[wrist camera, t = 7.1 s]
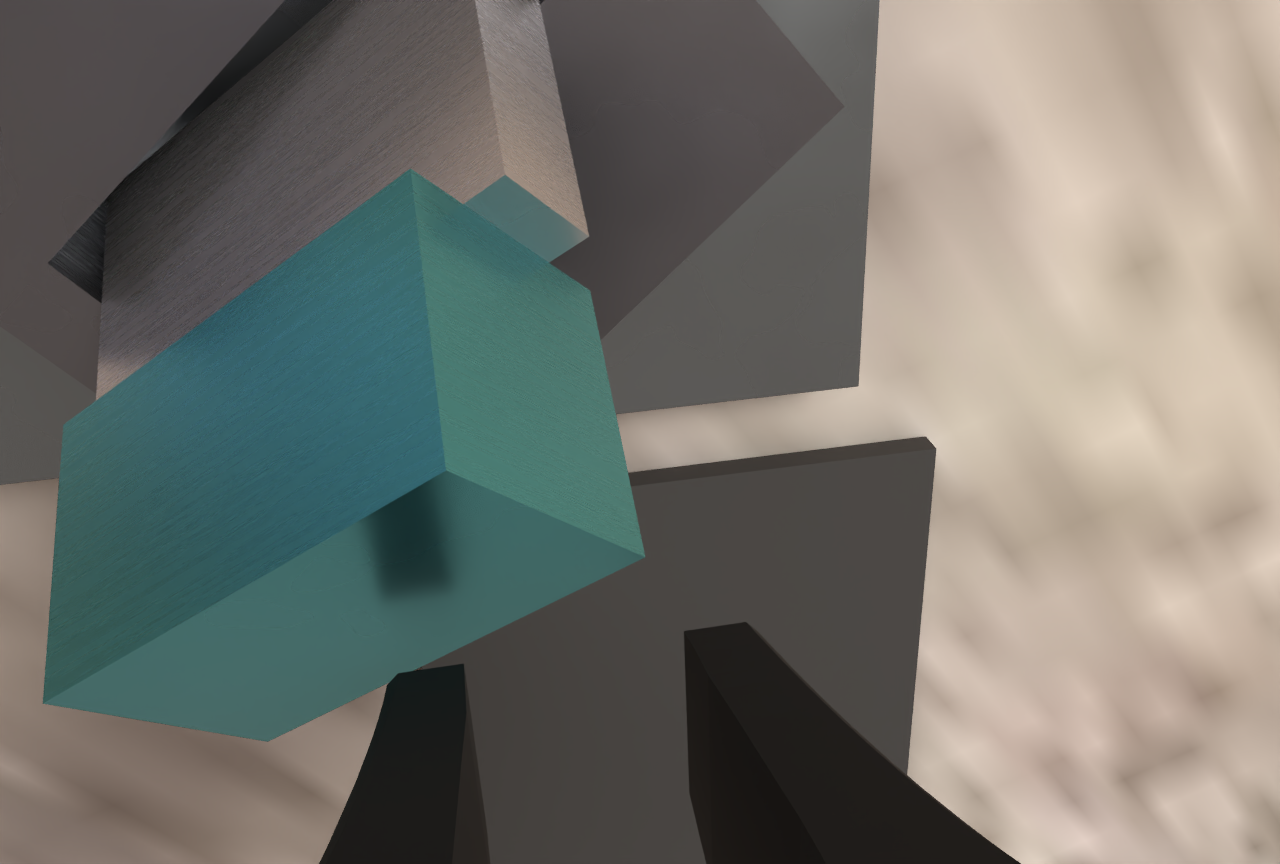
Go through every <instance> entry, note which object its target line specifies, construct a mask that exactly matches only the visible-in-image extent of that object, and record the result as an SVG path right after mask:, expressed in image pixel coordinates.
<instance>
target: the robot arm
mask: <svg viewBox="0 0 1280 864" xmlns="http://www.w3.org/2000/svg"><path fill="white" fill-rule="evenodd" d="M684 652H685V681H686V711H687V741H688V770H689V794H690V798H691V802H692V807H693V811H694V815H695V819H696V823H697V828H698V832H699V836H700V840H701V844H702V848H703V852H704V856H705V860H706V864H1021V863H1019V862H1018V861H1016V860H1015V859H1014V858H1012V857H1011V856H1009V855H1008V854H1006V853H1005V852H1004V851H1002V850H1001V849H999V848H998V847H997V846H995V845H994V844H993V843H991V842H990V841H989V840H987V839H986V838H985V837H983V836H982V835H981V834H979V833H978V832H977V831H975V830H974V829H973V828H971V827H970V826H969V825H967V824H966V823H965V822H964V821H962V820H961V819H960V818H959V817H957V816H956V815H955V814H954V813H952V812H951V811H950V810H949V809H947V808H946V807H945V806H944V805H942V804H941V803H940V802H939V801H937V800H936V799H935V798H934V797H932V796H931V795H930V794H929V793H927V792H926V791H925V790H924V789H923V788H921V787H920V786H919V785H918V784H917V783H915V782H914V781H913V780H912V779H911V778H910V777H908V776H907V775H906V774H905V773H904V772H903V771H901V770H900V769H899V768H898V767H897V766H896V765H894V764H893V763H892V762H891V761H890V760H889V759H888V758H887V757H886V756H884V755H883V754H882V753H881V752H880V751H879V750H878V749H877V748H876V747H874V746H873V745H872V744H871V743H870V742H869V741H868V740H867V739H866V738H865V737H863V736H862V735H861V734H860V733H859V732H858V731H857V730H856V729H855V728H853V727H852V726H851V725H850V724H849V723H848V722H847V721H846V720H845V719H844V718H843V717H842V716H841V715H840V714H839V713H838V712H836V711H835V710H834V709H833V708H832V707H831V706H830V705H829V704H828V703H827V702H826V701H825V700H824V699H823V698H822V697H821V696H820V695H819V694H818V693H817V692H816V691H815V690H814V689H813V688H812V687H811V686H810V685H809V684H808V683H807V682H806V681H805V680H804V679H803V678H802V677H801V676H800V675H799V674H798V673H797V672H796V671H795V670H794V669H793V668H792V667H791V666H790V665H789V664H788V663H787V662H786V661H785V660H784V659H783V657H782V656H781V655H780V654H779V653H778V652H777V651H776V650H775V649H774V648H773V647H772V646H771V645H770V644H769V643H768V642H767V641H766V640H765V638H764V637H763V636H762V635H761V634H760V633H759V632H758V631H757V630H756V629H754V628H753V627H752V626H751V625H749V624H748V623H747V622H742V623H735V624H728V625H721V626H715V627H708V628H701V629H694V630H687V631H684ZM319 864H490V854H489V845H488V835H487V826H486V819H485V811H484V804H483V797H482V790H481V783H480V775H479V768H478V761H477V754H476V747H475V739H474V732H473V725H472V718H471V711H470V703H469V696H468V689H467V682H466V675H465V668H464V664H457V665H450V666H443V667H437V668H430V669H423V670H416V671H410V672H403V673H398V674H397V675H396V676H395V677H394V678H393V679H392V680H391V681H390V683H389V684H388V685H387V688H386V693H385V697H384V702H383V705H382V709H381V712H380V716H379V719H378V722H377V725H376V729H375V732H374V735H373V737H372V740H371V743H370V746H369V749H368V751H367V754H366V757H365V759H364V762H363V765H362V767H361V770H360V772H359V775H358V778H357V780H356V783H355V785H354V787H353V790H352V792H351V794H350V796H349V799H348V801H347V803H346V806H345V808H344V810H343V812H342V815H341V817H340V819H339V822H338V824H337V826H336V829H335V831H334V833H333V835H332V838H331V840H330V842H329V844H328V846H327V849H326V851H325V853H324V855H323V857H322V859H321V861H320V863H319Z"/></svg>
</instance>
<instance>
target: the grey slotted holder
mask: <svg viewBox="0 0 1280 864" xmlns="http://www.w3.org/2000/svg"><path fill="white" fill-rule="evenodd" d="M284 1H285V0H0V327H2V328H3V329H4V330H6V331H7V332H9V333H10V334H12V335H13V336H14V337H16V338H17V339H19V340H20V341H22V342H23V343H24V344H26V345H27V346H29V347H30V348H32V349H33V350H34V351H36V352H37V353H39V354H40V355H42V356H43V357H44V358H46V359H47V360H49V361H50V362H52V363H53V364H54V365H56V366H57V367H59V368H60V369H62V370H63V371H64V372H66V373H67V374H69V375H70V376H72V377H73V378H74V379H76V380H77V381H79V382H80V383H82V384H83V385H84V386H86V387H87V388H89V389H90V390H92V391H93V392H94V393H96V391H97V373H98V356H99V339H100V321H101V304H102V287H103V269H104V252H105V235H106V217H107V200H108V198H107V197H108V196H109V195H110V193H111V192H112V191H113V190H114V189H115V188H116V187H117V186H118V185H119V184H120V182H121V181H122V180H123V179H124V178H125V177H126V176H127V175H128V174H129V172H130V171H131V170H132V169H133V168H134V167H135V166H136V165H137V164H138V162H139V161H140V160H141V159H142V158H143V157H144V156H145V155H146V154H147V152H148V151H149V150H150V149H151V148H152V147H153V146H154V145H155V144H156V142H157V141H158V140H159V139H160V138H161V137H162V136H163V135H164V134H165V133H166V131H167V130H168V129H169V128H170V127H171V126H172V125H173V124H174V123H175V121H176V120H177V119H178V118H179V117H180V116H181V115H182V114H183V113H184V111H185V110H186V109H187V108H188V107H189V106H190V105H191V104H192V103H193V101H194V100H195V99H196V98H197V97H198V96H199V95H200V94H201V93H202V92H203V90H204V89H205V88H206V87H207V86H208V85H209V84H210V83H211V82H212V80H213V79H214V78H215V77H216V76H217V75H218V74H219V73H220V72H221V70H222V69H223V68H224V67H225V66H226V65H227V64H228V63H229V62H230V60H231V59H232V58H233V57H234V56H235V55H236V54H237V53H238V52H239V51H240V49H241V48H242V47H243V46H244V45H245V44H246V43H247V42H248V41H249V39H250V38H251V37H252V36H253V35H254V34H255V33H256V32H257V31H258V29H259V28H260V27H261V26H262V25H263V24H264V23H265V22H266V21H267V19H268V18H269V17H270V16H271V15H272V14H273V13H274V12H275V11H276V9H277V8H278V7H279V6H280V5H281V4H282V3H283V2H284ZM539 3H540V8H541V12H542V17H543V22H544V26H545V31H546V36H547V41H548V45H549V50H550V55H551V59H552V64H553V69H554V73H555V78H556V83H557V87H558V92H559V97H560V102H561V106H562V111H563V116H564V120H565V125H566V130H567V134H568V139H569V144H570V149H571V153H572V158H573V163H574V167H575V172H576V177H577V181H578V186H579V191H580V196H581V200H582V205H583V210H584V214H585V219H586V224H587V228H588V233H589V237H588V238H586V239H585V240H583V241H582V242H580V243H578V244H577V245H575V246H574V247H572V248H571V249H569V250H568V251H566V252H565V253H563V254H561V255H560V256H558V257H557V258H555V259H554V260H552V261H551V262H549V263H550V264H552V265H553V266H555V267H556V268H558V269H559V270H561V271H562V272H564V273H565V274H567V275H568V276H569V277H571V278H572V279H574V280H575V281H577V282H578V283H580V284H581V285H583V286H584V287H586V288H587V289H589V290H590V292H591V297H592V302H593V307H594V312H595V316H596V321H597V326H598V331H599V336H600V340H601V339H602V338H603V337H605V336H606V335H607V334H608V333H609V332H610V331H611V330H612V329H613V328H614V327H615V326H616V325H617V324H618V323H619V322H620V321H621V320H622V319H623V318H624V317H625V316H626V315H627V314H629V313H630V312H631V311H632V310H633V309H634V308H635V307H636V306H637V305H638V304H639V303H640V302H641V301H642V300H643V299H644V298H645V297H646V296H647V295H648V294H649V293H650V292H652V291H653V290H654V289H655V288H656V287H657V286H658V285H659V284H660V283H661V282H662V281H663V280H664V279H665V278H666V277H667V276H668V275H669V274H670V273H671V272H672V271H673V270H675V269H676V268H677V267H678V266H679V265H680V264H681V263H682V262H683V261H684V260H685V259H686V258H687V257H688V256H689V255H690V254H691V253H692V252H693V251H694V250H695V249H696V248H698V247H699V246H700V245H701V244H702V243H703V242H704V241H705V240H706V239H707V238H708V237H709V236H710V235H711V234H712V233H713V232H714V231H715V230H716V229H717V228H718V227H719V226H721V225H722V224H723V223H724V222H725V221H726V220H727V219H728V218H729V217H730V216H731V215H732V214H733V213H734V212H735V211H736V210H737V209H738V208H739V207H740V206H741V205H742V204H743V203H745V202H746V201H747V200H748V199H749V198H750V197H751V196H752V195H753V194H754V193H755V192H756V191H757V190H758V189H759V188H760V187H761V186H762V185H763V184H764V183H765V182H766V181H768V180H769V179H770V178H771V177H772V176H773V175H774V174H775V173H776V172H777V171H778V170H779V169H780V168H781V167H782V166H783V165H784V164H785V163H786V162H787V161H788V160H789V159H791V158H792V157H793V156H794V155H795V154H796V153H797V152H798V151H799V150H800V149H801V148H802V147H803V146H804V145H805V144H806V143H807V142H808V141H809V140H810V139H811V138H812V137H814V136H815V135H816V134H817V133H818V132H819V131H820V130H821V129H822V128H823V127H824V126H825V125H826V124H827V123H828V122H829V121H830V120H831V119H832V118H833V117H834V116H835V115H836V114H838V113H839V112H840V111H841V110H842V109H843V108H844V107H845V106H844V105H843V104H842V103H841V102H840V100H839V99H838V98H837V97H836V96H835V94H834V93H833V92H832V91H831V90H830V88H829V87H828V86H827V85H826V84H825V82H824V81H823V80H822V79H821V78H820V76H819V75H818V74H817V73H816V72H815V70H814V69H813V68H812V67H811V66H810V64H809V63H808V62H807V61H806V60H805V58H804V57H803V56H802V55H801V54H800V52H799V51H798V50H797V49H796V48H795V46H794V45H793V44H792V43H791V42H790V40H789V39H788V38H787V37H786V35H785V34H784V33H783V32H782V31H781V29H780V28H779V27H778V26H777V25H776V23H775V22H774V21H773V20H772V19H771V17H770V16H769V15H768V14H767V13H766V11H765V10H764V9H763V8H762V7H761V5H760V4H759V3H758V2H757V1H756V0H539Z"/></svg>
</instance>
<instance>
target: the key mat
mask: <svg viewBox="0 0 1280 864" xmlns="http://www.w3.org/2000/svg"><path fill="white" fill-rule="evenodd" d="M935 457H936V448H935V447H934V445H933V444H932V443H931V442H930V441H929V440H928V439H927V437H919V438H911V439H903V440H895V441H886V442H878V443H870V444H862V445H854V446H845V447H837V448H829V449H821V450H813V451H805V452H796V453H788V454H780V455H772V456H764V457H756V458H747V459H739V460H731V461H723V462H715V463H706V464H698V465H690V466H682V467H674V468H666V469H657V470H649V471H641V472H633V473H628V476H629V480H630V485H631V490H632V495H633V500H634V505H635V509H636V514H637V519H638V524H639V529H640V534H641V538H642V543H643V548H644V553H645V558H643V559H641V560H639V561H637V562H635V563H633V564H630V565H628V566H626V567H624V568H622V569H620V570H618V571H616V572H614V573H612V574H610V575H608V576H606V577H604V578H602V579H600V580H598V581H596V582H594V583H592V584H590V585H588V586H585V587H583V588H581V589H579V590H577V591H575V592H573V593H571V594H569V595H567V596H565V597H563V598H561V599H559V600H557V601H555V602H553V603H551V604H549V605H547V606H545V607H542V608H540V609H538V610H536V611H534V612H532V613H530V614H528V615H526V616H524V617H522V618H520V619H518V620H516V621H514V622H512V623H510V624H508V625H506V626H504V627H502V628H499V629H497V630H495V631H493V632H491V633H489V634H487V635H485V636H483V637H481V638H479V639H477V640H475V641H473V642H471V643H469V644H467V645H465V646H463V647H461V648H459V649H457V650H454V651H452V652H450V653H448V654H446V655H444V656H442V657H440V658H438V659H436V660H434V661H432V662H430V663H428V664H426V665H424V666H422V670H423V669H430V668H437V667H443V666H450V665H457V664H464V668H465V675H466V682H467V689H468V696H469V703H470V711H471V718H472V725H473V732H474V739H475V747H476V754H477V761H478V768H479V775H480V783H481V790H482V797H483V804H484V811H485V819H486V826H487V835H488V845H489V854H490V864H706V860H705V856H704V852H703V848H702V844H701V840H700V836H699V832H698V828H697V823H696V819H695V815H694V811H693V807H692V802H691V798H690V794H689V770H688V741H687V711H686V681H685V652H684V631H687V630H694V629H701V628H708V627H715V626H721V625H728V624H735V623H742V622H747V623H748V624H749V625H751V626H752V627H753V628H754V629H756V630H757V631H758V632H759V633H760V634H761V635H762V636H763V637H764V638H765V640H766V641H767V642H768V643H769V644H770V645H771V646H772V647H773V648H774V649H775V650H776V651H777V652H778V653H779V654H780V655H781V656H782V657H783V659H784V660H785V661H786V662H787V663H788V664H789V665H790V666H791V667H792V668H793V669H794V670H795V671H796V672H797V673H798V674H799V675H800V676H801V677H802V678H803V679H804V680H805V681H806V682H807V683H808V684H809V685H810V686H811V687H812V688H813V689H814V690H815V691H816V692H817V693H818V694H819V695H820V696H821V697H822V698H823V699H824V700H825V701H826V702H827V703H828V704H829V705H830V706H831V707H832V708H833V709H834V710H835V711H836V712H838V713H839V714H840V715H841V716H842V717H843V718H844V719H845V720H846V721H847V722H848V723H849V724H850V725H851V726H852V727H853V728H855V729H856V730H857V731H858V732H859V733H860V734H861V735H862V736H863V737H865V738H866V739H867V740H868V741H869V742H870V743H871V744H872V745H873V746H874V747H876V748H877V749H878V750H879V751H880V752H881V753H882V754H883V755H884V756H886V757H887V758H888V759H889V760H890V761H891V762H892V763H893V764H894V765H896V766H897V767H898V768H899V769H900V770H901V771H903V772H904V773H905V774H906V775H907V769H908V758H909V747H910V736H911V725H912V714H913V702H914V691H915V680H916V669H917V658H918V647H919V635H920V624H921V613H922V602H923V591H924V580H925V569H926V557H927V546H928V535H929V524H930V513H931V502H932V491H933V479H934V468H935Z"/></svg>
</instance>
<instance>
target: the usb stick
mask: <svg viewBox="0 0 1280 864" xmlns="http://www.w3.org/2000/svg"><path fill="white" fill-rule="evenodd" d="M588 237H589V233H588V228H587V224H586V219H585V214H584V210H583V205H582V200H581V196H580V191H579V186H578V181H577V177H576V172H575V167H574V163H573V158H572V153H571V149H570V144H569V139H568V134H567V130H566V125H565V120H564V116H563V111H562V106H561V102H560V97H559V92H558V87H557V83H556V78H555V73H554V69H553V64H552V59H551V55H550V50H549V45H548V41H547V36H546V31H545V26H544V22H543V17H542V12H541V8H540V3H539V0H333V1H331V2H330V3H329V4H328V5H327V6H326V7H324V8H323V9H322V10H321V11H320V12H319V13H317V14H316V15H315V16H314V17H313V18H311V19H310V20H309V21H308V22H307V23H306V24H304V25H303V26H302V27H301V28H300V29H299V30H297V31H296V32H295V33H294V34H293V35H292V36H290V37H289V38H288V39H287V40H286V41H285V42H283V43H282V44H281V45H280V46H279V47H278V48H276V49H275V50H274V51H273V52H272V53H271V54H269V55H268V56H267V57H266V58H265V59H264V60H262V61H261V62H260V63H259V64H258V65H256V66H255V67H254V68H253V69H252V70H251V71H249V72H248V73H247V74H246V75H245V76H244V77H242V78H241V79H240V80H239V81H238V82H237V83H235V84H234V85H233V86H232V87H231V88H230V89H228V90H227V91H226V92H225V93H224V94H223V95H221V96H220V97H219V98H218V99H217V100H216V101H214V102H213V103H212V104H211V105H210V106H208V107H207V108H206V109H205V110H204V111H203V112H201V113H200V114H199V115H198V116H197V117H196V118H194V119H193V120H192V121H191V122H190V123H189V124H187V125H186V126H185V127H184V128H183V129H182V130H180V131H179V132H178V133H177V134H176V135H175V136H173V137H172V138H171V139H170V140H169V141H168V142H166V143H165V144H164V145H163V146H162V147H160V148H159V149H158V150H157V151H156V152H155V153H153V154H152V155H151V156H150V157H149V158H148V159H146V160H145V161H144V162H143V163H142V164H141V165H139V166H138V167H137V168H136V169H135V170H134V171H132V172H131V173H130V174H129V175H128V176H127V177H125V178H124V179H123V180H122V181H121V182H120V184H119V185H118V186H117V187H116V188H115V189H114V190H113V191H112V192H111V193H110V195H109V196H108V200H107V217H106V235H105V252H104V269H103V287H102V304H101V321H100V339H99V356H98V373H97V391H96V401H95V402H93V403H92V404H91V405H89V406H88V407H87V408H85V409H84V410H82V411H81V412H80V413H78V414H77V415H76V416H74V417H73V418H72V419H70V420H69V421H68V422H66V423H65V424H63V436H62V450H61V463H60V477H59V491H58V504H57V518H56V531H55V545H54V559H53V572H52V586H51V599H50V613H49V627H48V640H47V654H46V667H45V681H44V695H43V704H49V705H55V706H60V707H66V708H72V709H78V710H84V711H90V712H96V713H102V714H108V715H114V716H119V717H125V718H131V719H137V720H143V721H149V722H155V723H161V724H167V725H172V726H178V727H184V728H190V729H196V730H202V731H208V732H214V733H220V734H226V735H231V736H237V737H243V738H249V739H255V740H261V741H267V742H268V741H270V740H272V739H274V738H276V737H278V736H280V735H283V734H285V733H287V732H289V731H291V730H293V729H295V728H297V727H299V726H301V725H303V724H305V723H307V722H309V721H311V720H313V719H315V718H317V717H319V716H321V715H323V714H325V713H328V712H330V711H332V710H334V709H336V708H338V707H340V706H342V705H344V704H346V703H348V702H350V701H352V700H354V699H356V698H358V697H360V696H362V695H364V694H366V693H368V692H371V691H373V690H375V689H377V688H379V687H381V686H383V685H385V684H387V683H389V682H390V681H391V680H392V679H393V678H394V677H395V676H396V675H397V674H398V673H403V672H410V671H414V670H416V669H418V668H420V667H422V666H424V665H426V664H428V663H430V662H432V661H434V660H436V659H438V658H440V657H442V656H444V655H446V654H448V653H450V652H452V651H454V650H457V649H459V648H461V647H463V646H465V645H467V644H469V643H471V642H473V641H475V640H477V639H479V638H481V637H483V636H485V635H487V634H489V633H491V632H493V631H495V630H497V629H499V628H502V627H504V626H506V625H508V624H510V623H512V622H514V621H516V620H518V619H520V618H522V617H524V616H526V615H528V614H530V613H532V612H534V611H536V610H538V609H540V608H542V607H545V606H547V605H549V604H551V603H553V602H555V601H557V600H559V599H561V598H563V597H565V596H567V595H569V594H571V593H573V592H575V591H577V590H579V589H581V588H583V587H585V586H588V585H590V584H592V583H594V582H596V581H598V580H600V579H602V578H604V577H606V576H608V575H610V574H612V573H614V572H616V571H618V570H620V569H622V568H624V567H626V566H628V565H630V564H633V563H635V562H637V561H639V560H641V559H643V558H645V553H644V548H643V543H642V538H641V534H640V529H639V524H638V519H637V514H636V509H635V505H634V500H633V495H632V490H631V485H630V480H629V476H628V471H627V466H626V461H625V456H624V452H623V447H622V442H621V437H620V432H619V427H618V423H617V418H616V413H615V408H614V403H613V398H612V394H611V389H610V384H609V379H608V374H607V369H606V365H605V360H604V355H603V350H602V345H601V340H600V336H599V331H598V326H597V321H596V316H595V312H594V307H593V302H592V297H591V292H590V290H589V289H587V288H586V287H584V286H583V285H581V284H580V283H578V282H577V281H575V280H574V279H572V278H571V277H569V276H568V275H567V274H565V273H564V272H562V271H561V270H559V269H558V268H556V267H555V266H553V265H552V264H550V263H549V262H551V261H552V260H554V259H555V258H557V257H558V256H560V255H561V254H563V253H565V252H566V251H568V250H569V249H571V248H572V247H574V246H575V245H577V244H578V243H580V242H582V241H583V240H585V239H586V238H588Z"/></svg>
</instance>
